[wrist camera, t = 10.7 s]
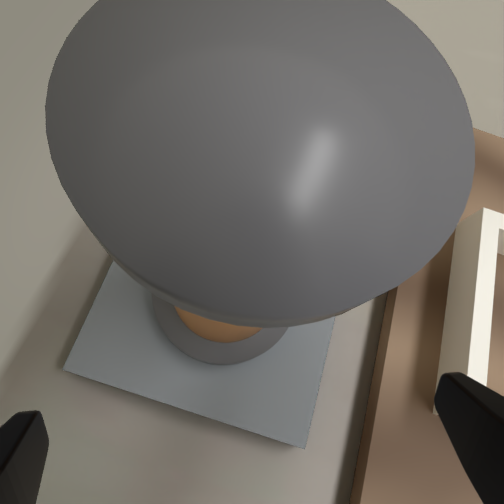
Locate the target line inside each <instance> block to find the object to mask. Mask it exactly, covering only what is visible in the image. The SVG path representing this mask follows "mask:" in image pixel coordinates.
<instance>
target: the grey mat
mask: <svg viewBox="0 0 504 504" xmlns="http://www.w3.org/2000/svg"><path fill="white" fill-rule="evenodd" d="M334 320H335V316H334V317H331V318H328V319H325V320H322V321H319V322H315V323H309V324H304V325H299V326H293V327H288V329H287V331H286V332H285V334H284V335H283V336H282V338H281V339H280V340H279V341H278V342H277V343H276V344H275V345H274V346H273V347H272V348H270V349H269V350H267V351H266V352H265V353H263V354H261V355H259V356H257V357H255V358H253V359H251V360H249V361H246V362H243V363H238V364H233V365H214V364H209V363H205V362H202V361H199V360H196V359H194V358H192V357H190V356H188V355H186V354H185V353H184V352H182V351H181V350H180V349H178V348H177V347H176V346H175V345H174V344H173V343H172V342H171V341H170V339H169V338H168V337H167V335H166V334H165V333H164V331H163V330H162V328H161V326H160V324H159V322H158V320H157V318H156V315H155V312H154V308H153V303H152V293H151V292H150V291H149V290H147V289H146V288H144V287H143V286H142V285H140V284H139V283H137V282H136V281H135V280H133V279H132V278H131V277H130V276H129V275H128V274H127V273H126V272H125V271H124V270H123V269H122V268H121V267H120V266H119V265H118V264H117V263H115V262H114V260H113V262H112V264H111V266H110V268H109V270H108V273H107V275H106V277H105V279H104V281H103V283H102V285H101V288H100V290H99V292H98V294H97V296H96V298H95V300H94V303H93V305H92V307H91V309H90V311H89V313H88V315H87V318H86V320H85V322H84V324H83V326H82V328H81V330H80V332H79V335H78V337H77V339H76V341H75V343H74V345H73V347H72V350H71V352H70V354H69V356H68V358H67V360H66V362H65V365H64V367H63V369H62V370H65V371H68V372H71V373H74V374H77V375H80V376H83V377H86V378H89V379H92V380H95V381H98V382H101V383H104V384H107V385H110V386H113V387H116V388H119V389H122V390H126V391H129V392H132V393H135V394H138V395H141V396H144V397H147V398H150V399H153V400H156V401H159V402H162V403H165V404H168V405H171V406H174V407H177V408H180V409H183V410H186V411H189V412H192V413H196V414H199V415H202V416H205V417H208V418H211V419H214V420H217V421H220V422H223V423H226V424H229V425H232V426H235V427H238V428H241V429H244V430H247V431H250V432H253V433H256V434H259V435H262V436H266V437H269V438H272V439H275V440H278V441H281V442H284V443H287V444H290V445H293V446H296V447H299V448H302V449H305V447H306V442H307V438H308V434H309V429H310V425H311V421H312V416H313V412H314V408H315V403H316V399H317V395H318V390H319V386H320V381H321V377H322V373H323V368H324V364H325V360H326V355H327V351H328V347H329V342H330V338H331V334H332V329H333V325H334Z"/></svg>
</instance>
